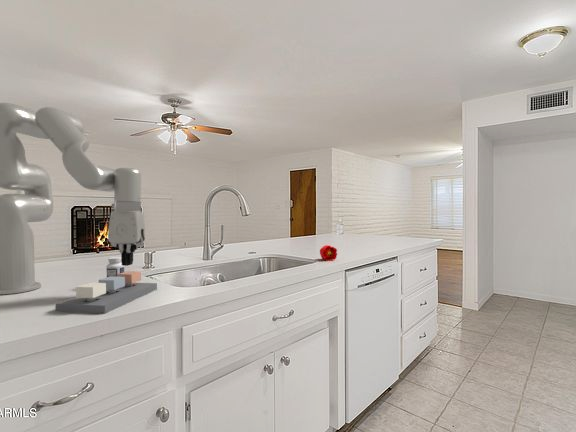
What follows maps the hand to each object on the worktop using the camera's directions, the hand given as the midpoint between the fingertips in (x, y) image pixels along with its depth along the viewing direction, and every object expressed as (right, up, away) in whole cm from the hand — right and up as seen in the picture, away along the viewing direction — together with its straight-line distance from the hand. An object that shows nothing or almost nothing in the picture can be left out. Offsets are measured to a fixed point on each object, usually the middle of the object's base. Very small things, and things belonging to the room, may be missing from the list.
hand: (127, 264), depth 99 cm
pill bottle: (-8, -9, +8) cm, 15 cm away
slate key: (0, -8, -8) cm, 11 cm away
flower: (+72, -7, +61) cm, 94 cm away
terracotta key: (+1, -7, 0) cm, 7 cm away
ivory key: (-1, -8, -16) cm, 18 cm away
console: (0, -9, -8) cm, 12 cm away
